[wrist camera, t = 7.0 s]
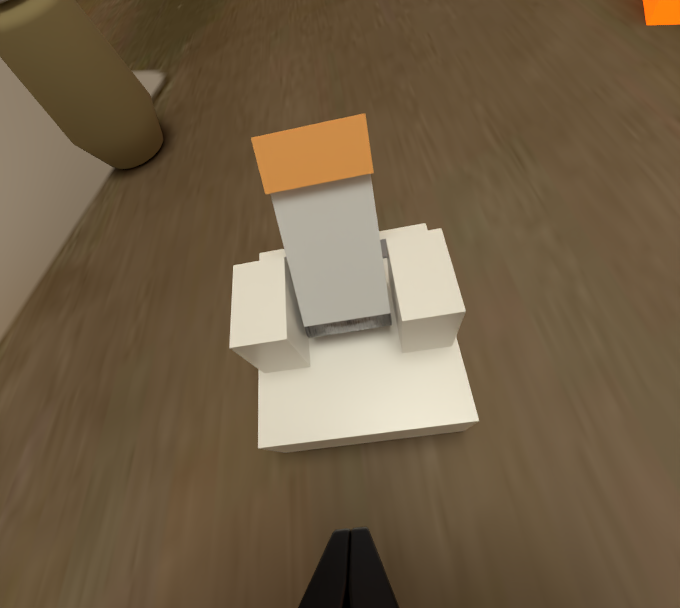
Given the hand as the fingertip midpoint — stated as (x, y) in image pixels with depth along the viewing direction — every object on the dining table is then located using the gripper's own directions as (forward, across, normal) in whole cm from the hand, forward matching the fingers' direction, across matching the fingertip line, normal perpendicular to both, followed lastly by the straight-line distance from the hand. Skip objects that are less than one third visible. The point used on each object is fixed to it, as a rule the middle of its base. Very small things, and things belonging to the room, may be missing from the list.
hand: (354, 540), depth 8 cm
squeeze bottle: (+30, +19, -15) cm, 39 cm away
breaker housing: (+14, 0, +1) cm, 14 cm away
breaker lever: (+10, 0, -1) cm, 10 cm away
